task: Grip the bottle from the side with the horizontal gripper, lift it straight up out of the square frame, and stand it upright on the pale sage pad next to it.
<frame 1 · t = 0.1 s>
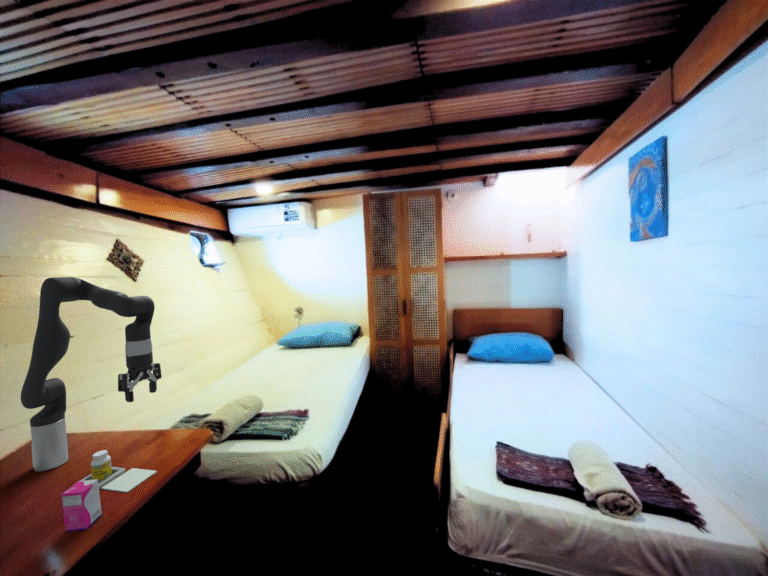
hand: (141, 396, 112), 29 cm above the table, tool pointing down, fingers open, 8 cm apart
supplement box: (83, 524, 92), on the table
supplement bottle: (102, 479, 113), resting in square frame
square frame: (102, 478, 113), on the table
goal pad: (130, 480, 112), on the table
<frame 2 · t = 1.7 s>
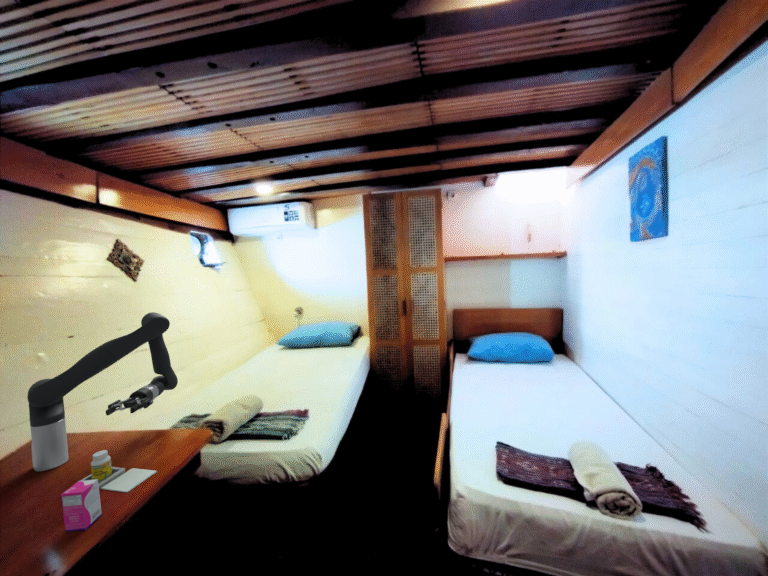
hand: (119, 412, 123), 20 cm above the table, tool horizontal, fingers open, 8 cm apart
nothing on the table moved.
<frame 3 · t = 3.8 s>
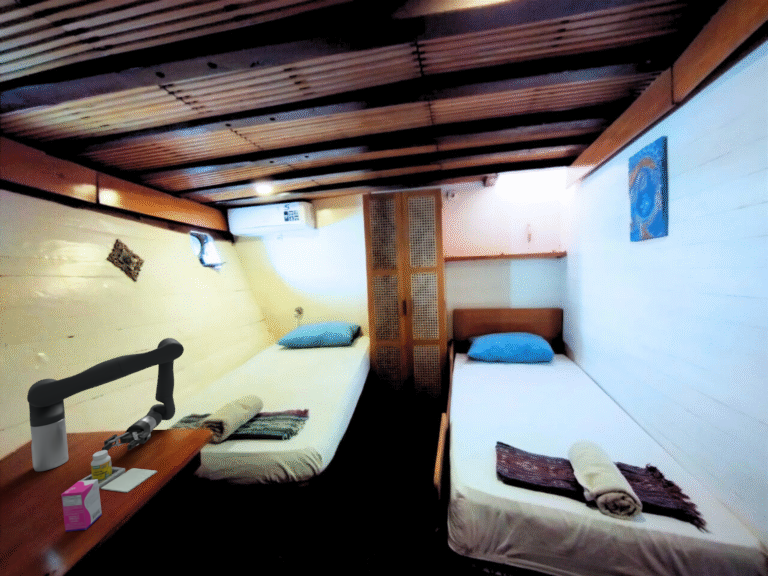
hand: (115, 449, 120), 7 cm above the table, tool horizontal, fingers open, 8 cm apart
nothing on the table moved.
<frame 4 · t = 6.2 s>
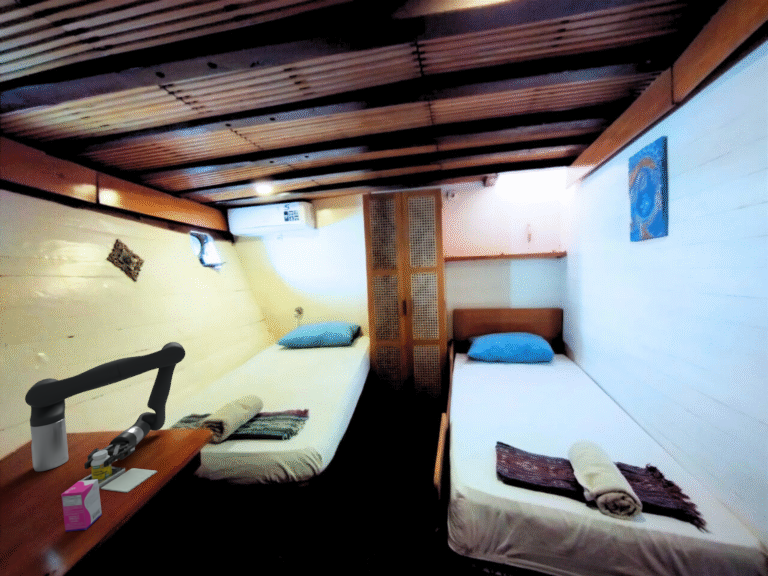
hand: (95, 465, 110), 7 cm above the table, tool horizontal, fingers closed on supplement bottle, 5 cm apart
supplement bottle: (102, 479, 113), resting in square frame, touching gripper
everything else where it was.
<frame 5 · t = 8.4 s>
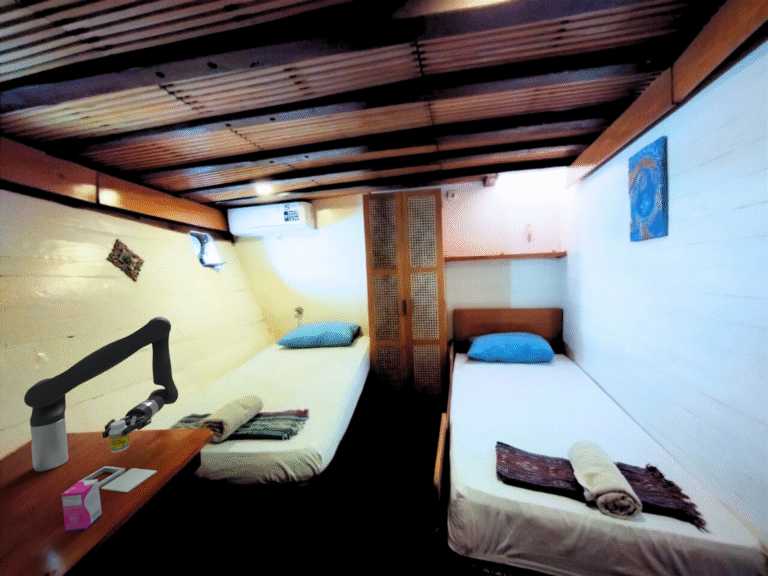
hand: (113, 434, 109), 18 cm above the table, tool horizontal, fingers closed on supplement bottle, 5 cm apart
supplement bottle: (120, 449, 112), point 11 cm above the table, touching gripper
everything else where it was.
when the fingers open (8 cm above the table, at t = 11.1 s): supplement bottle stays where it is, resting on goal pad.
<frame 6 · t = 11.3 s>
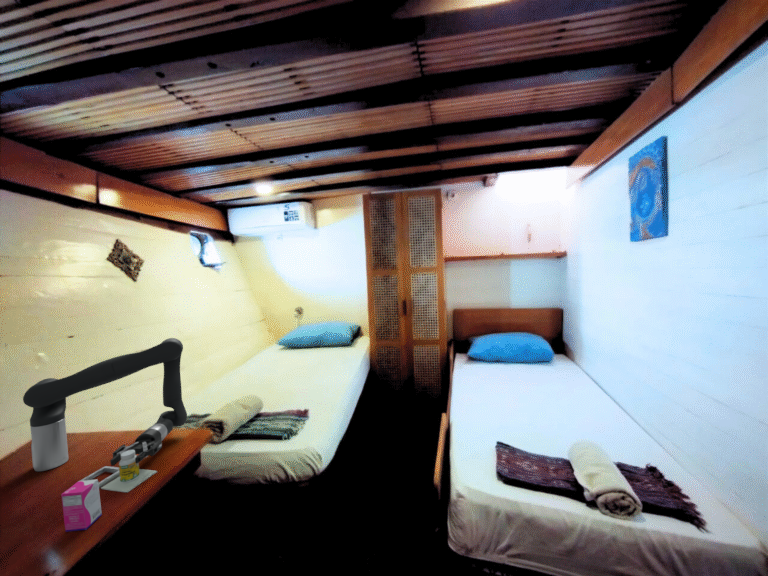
hand: (124, 461, 109), 8 cm above the table, tool horizontal, fingers open, 7 cm apart
supplement bottle: (130, 479, 112), resting on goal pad
everything else where it was.
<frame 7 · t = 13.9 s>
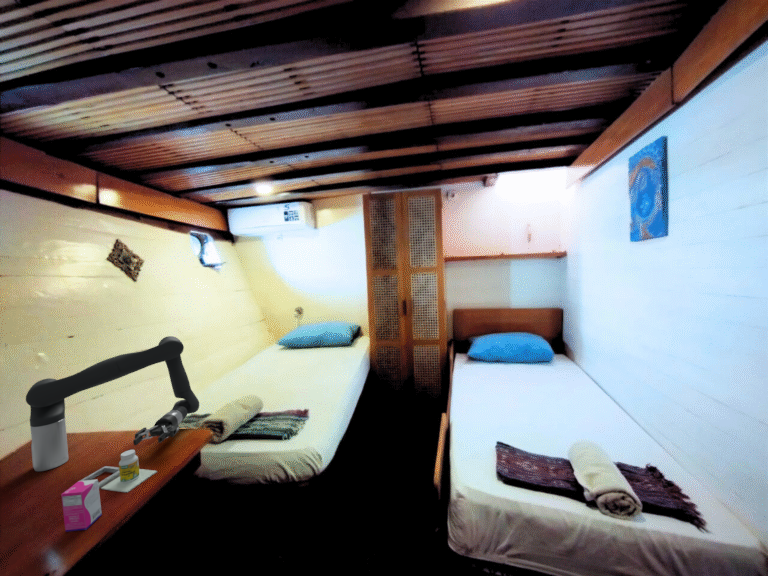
hand: (147, 441, 122), 8 cm above the table, tool horizontal, fingers open, 8 cm apart
nothing on the table moved.
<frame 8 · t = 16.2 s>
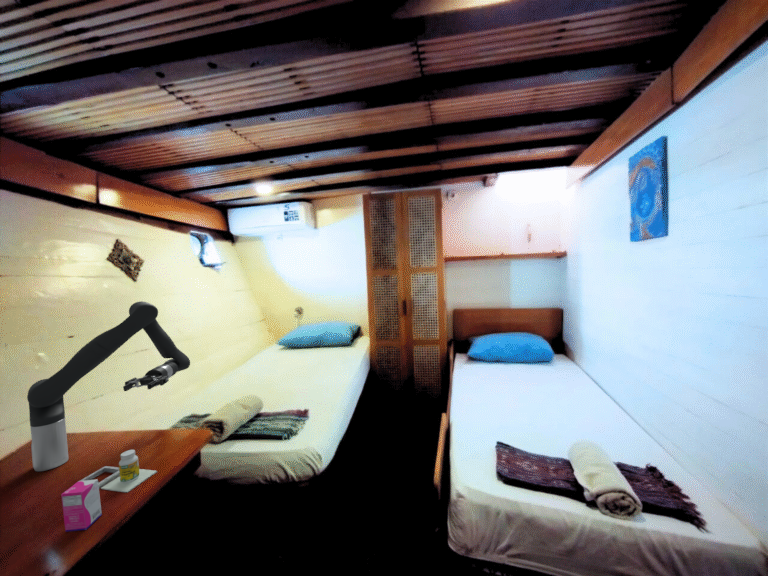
hand: (136, 387, 125), 28 cm above the table, tool horizontal, fingers open, 8 cm apart
nothing on the table moved.
at the end: supplement bottle inside the target area on the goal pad (0.2 cm from its centre), point 0.2 cm above the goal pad's base; supplement bottle tilted 0°; the gripper is holding nothing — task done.
